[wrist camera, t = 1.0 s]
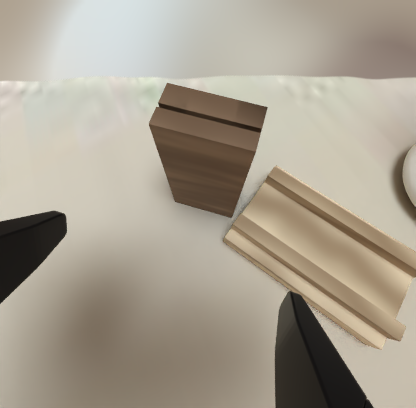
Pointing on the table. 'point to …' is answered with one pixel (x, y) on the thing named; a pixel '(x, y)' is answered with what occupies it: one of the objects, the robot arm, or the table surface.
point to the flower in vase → (410, 174)
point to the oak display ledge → (326, 256)
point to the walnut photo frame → (206, 146)
